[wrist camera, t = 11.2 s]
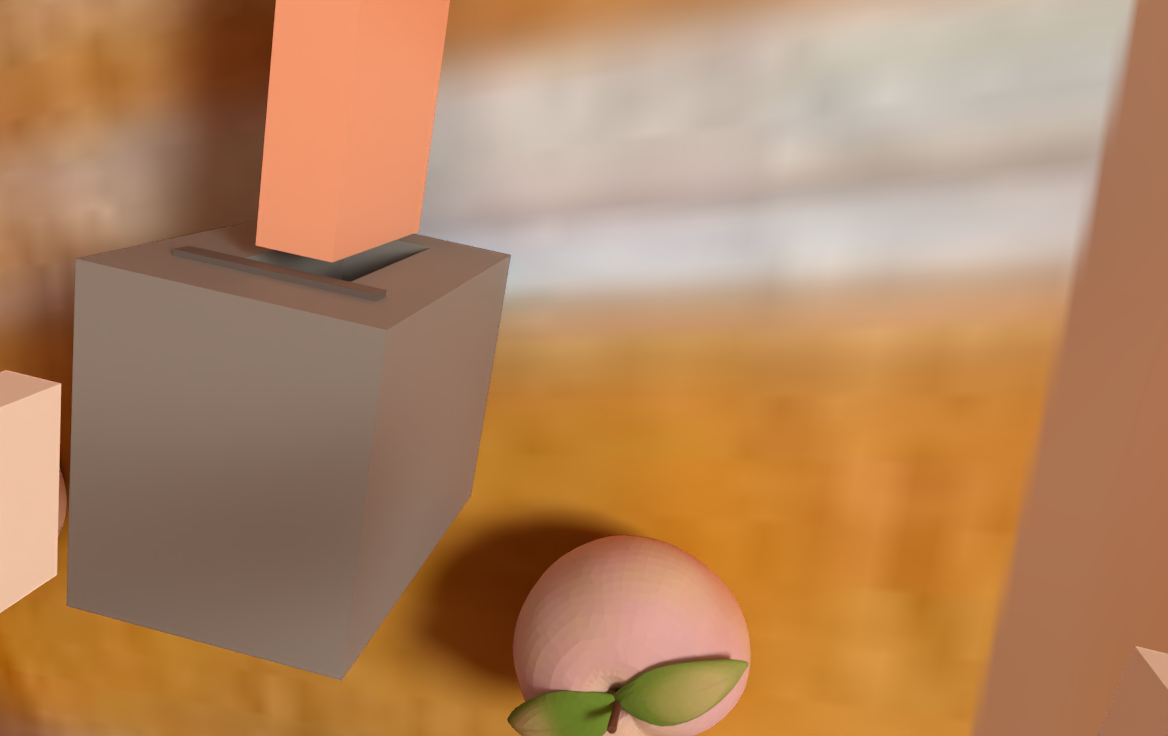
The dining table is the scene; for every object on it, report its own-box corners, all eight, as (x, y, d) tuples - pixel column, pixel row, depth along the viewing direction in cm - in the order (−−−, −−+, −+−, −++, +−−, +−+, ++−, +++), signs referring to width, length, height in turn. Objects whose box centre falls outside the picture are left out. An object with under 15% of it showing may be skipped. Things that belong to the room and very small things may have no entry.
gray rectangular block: (470, 496, 41) (341, 680, 27) (281, 449, 42) (66, 605, 28) (511, 250, 37) (387, 322, 24) (305, 205, 38) (75, 251, 25)
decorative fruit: (681, 456, 39) (664, 567, 29) (776, 612, 40) (790, 767, 30) (500, 550, 41) (430, 680, 32) (595, 694, 42) (555, 861, 33)
